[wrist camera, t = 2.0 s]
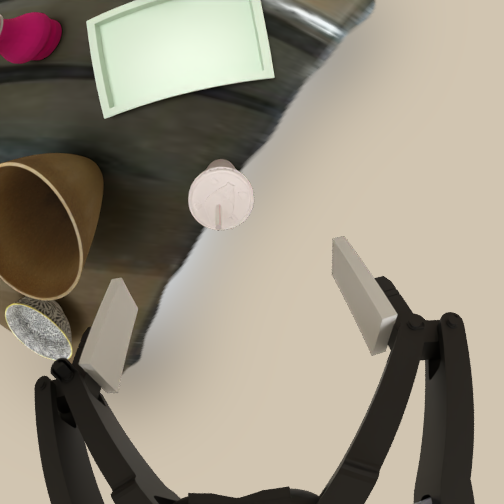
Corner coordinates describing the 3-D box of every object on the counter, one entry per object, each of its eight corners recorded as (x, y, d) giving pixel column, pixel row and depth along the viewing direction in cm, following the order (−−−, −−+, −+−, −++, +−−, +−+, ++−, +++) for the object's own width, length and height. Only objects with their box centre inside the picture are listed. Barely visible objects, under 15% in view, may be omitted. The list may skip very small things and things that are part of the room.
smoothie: (187, 183, 34) (170, 238, 22) (209, 140, 31) (202, 170, 20) (231, 203, 36) (238, 265, 25) (255, 162, 33) (275, 205, 22)
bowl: (92, 339, 48) (82, 367, 42) (36, 329, 46) (25, 353, 40) (69, 280, 40) (53, 310, 34) (10, 274, 38) (-7, 298, 31)
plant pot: (94, 246, 37) (52, 321, 24) (29, 186, 30) (-35, 241, 17) (152, 177, 33) (110, 240, 20) (77, 106, 26) (-3, 129, 12)
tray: (111, 116, 28) (104, 118, 26) (94, 24, 20) (86, 21, 18) (270, 78, 28) (274, 77, 26) (252, -17, 20) (254, -24, 18)
